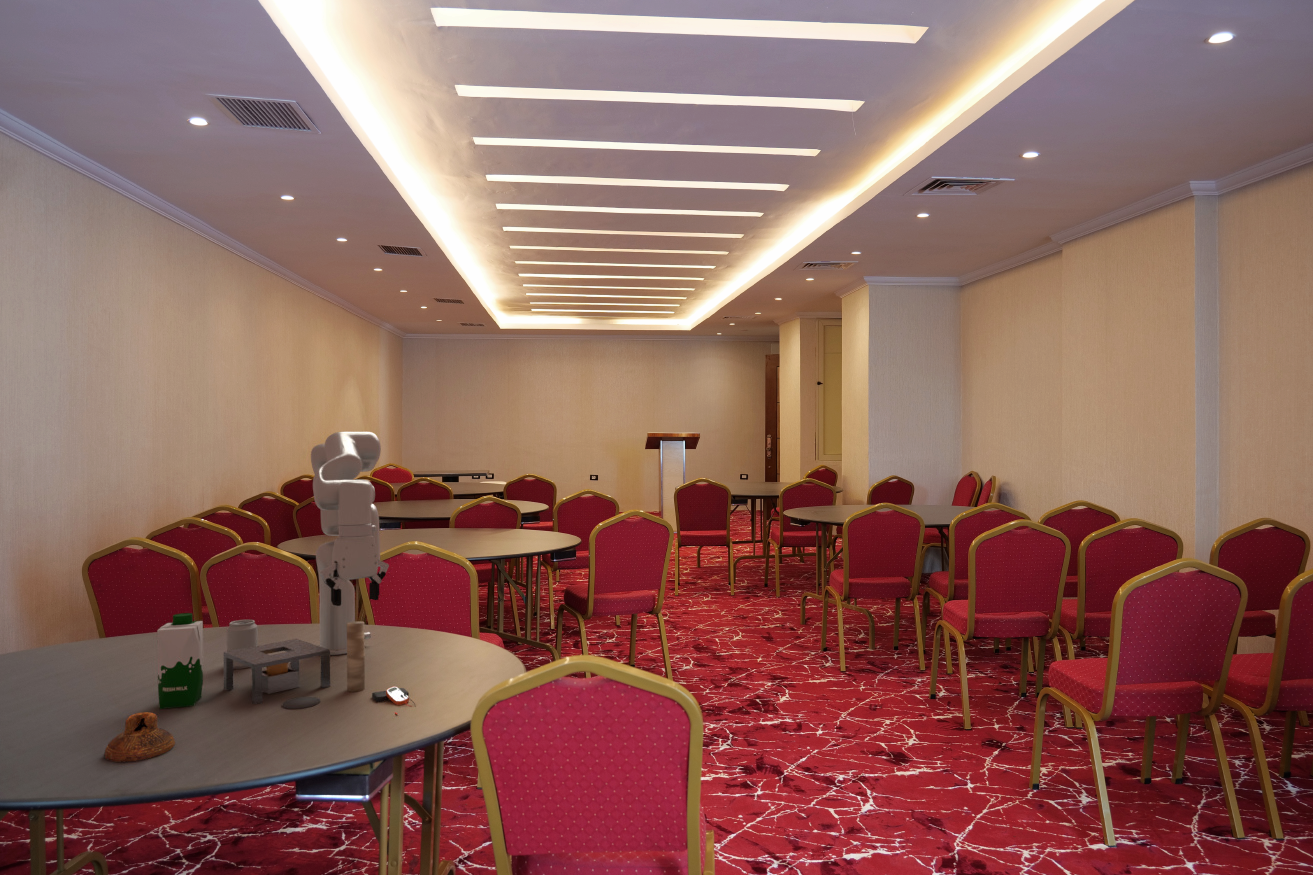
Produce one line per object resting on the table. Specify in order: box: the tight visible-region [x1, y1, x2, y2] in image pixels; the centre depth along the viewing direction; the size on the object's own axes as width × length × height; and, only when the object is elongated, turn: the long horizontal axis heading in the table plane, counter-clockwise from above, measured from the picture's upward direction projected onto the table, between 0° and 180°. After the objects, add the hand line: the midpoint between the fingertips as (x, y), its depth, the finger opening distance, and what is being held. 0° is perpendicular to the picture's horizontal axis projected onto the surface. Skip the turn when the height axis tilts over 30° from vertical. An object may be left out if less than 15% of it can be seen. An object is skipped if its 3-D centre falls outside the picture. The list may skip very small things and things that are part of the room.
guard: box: [223, 638, 331, 705], centre depth 204 cm, size 18×18×9 cm
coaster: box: [281, 696, 321, 710], centre depth 191 cm, size 8×8×1 cm
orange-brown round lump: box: [265, 662, 289, 676], centre depth 204 cm, size 5×5×4 cm
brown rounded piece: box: [104, 711, 176, 763], centre depth 162 cm, size 12×12×7 cm
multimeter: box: [371, 685, 416, 716], centre depth 191 cm, size 18×12×3 cm, turn 27°
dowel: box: [346, 620, 366, 692], centre depth 202 cm, size 4×4×16 cm
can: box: [226, 619, 259, 670], centre depth 225 cm, size 8×8×12 cm
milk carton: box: [156, 612, 204, 710], centre depth 192 cm, size 9×9×20 cm
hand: (355, 602), depth 202 cm, fingers open, 9 cm apart
